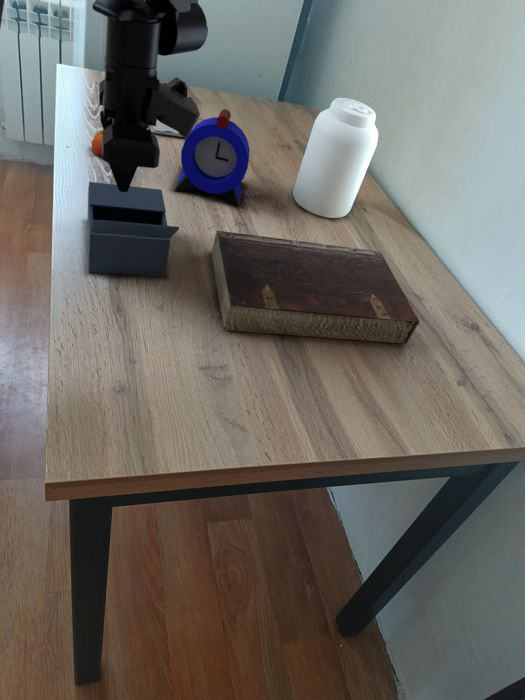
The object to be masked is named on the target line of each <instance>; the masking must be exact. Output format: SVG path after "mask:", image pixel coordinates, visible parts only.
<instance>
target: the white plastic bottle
mask: <svg viewBox="0 0 525 700" xmlns="http://www.w3.org/2000/svg"><path fill="white" fill-rule="evenodd" d="M376 114H377V113H376V112H375V110H374V109H373V108H371V107H370V106H369V105H367V104H365V103H363V102H361V101H359V100H357V99H356V100H355V99H352V98H348V97H337V98H334V99H333V100H332V102H331V103H330V105H329V107H328V108H326V109H324V110H323V111H321V112H319V113H318V114H317V117H316V118H315V119H314V123H313V126H312V129H311V132H310V135H309V139H308V142H307V145H306V148H305V151H304V155H303V158H302V161H301V164H300V167H299V170H298V174H297V176H296V179H295V183H294V187H293V190H292V196H293V199H294V201H295V202H296V203H297V204H298V206H300V207H301V208H302V209H304V210H306V211H307V212H308V213H311V214H314V215H316V216H320V217H321V218H322V217H323V218H329V219H340V218H342V217H345V216H347V214H349V213H350V212H351V210H352V207H353V205H354V202H355V200H356V197H357V195H358V193H359V191H360V188H361V185H362V183H363V180H364V179H365V178H364V177H365V176H366V172H367V171H368V168H369V166H370V163H371V160H372V158H373V155H374V153H375V151H376V148H377V146H378V139H379V131H378V128H377V127H376V124H375V122H376V117H377V116H376Z"/></svg>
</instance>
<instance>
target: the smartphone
mask: <svg viewBox="0 0 525 700" xmlns="http://www.w3.org/2000/svg"><path fill="white" fill-rule="evenodd" d="M149 127H150V130H151V132H152V133H153V134H158V135H159V134H160V135H165V136H172V137H180V138H185V136H182V135H180V134H179V132H178V131H176V130H174V129H172V128H170V127H169V126H167V125H165V124H163V123H161V122H160V121H158V120H157V121H156V126H151V125H149Z"/></svg>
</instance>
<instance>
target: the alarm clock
mask: <svg viewBox="0 0 525 700" xmlns="http://www.w3.org/2000/svg"><path fill="white" fill-rule="evenodd" d="M231 117H232V113H231V111H230V110H229V109H226V108H225V109H222V110H220V112H219V114H218V117H217V116H213V117H209V118H205V119H203V120H201V121H199V122H198V123H196V124H195V125H194V127H193V129H192V131H191V133H190V134H189V136H188V137H185V138H186V139H185V140H184V141H183V145H182V148H181V151H180V163H181V167H182V170H181V173H180V176H179V178H178V180H177V184H176V186H175V188H174V192H175V191H176V192H177V191H184V190H192V189H196V188H197V189H198V190H200V191H202V192H205V193H208V194H215V195H221V196H223V198H225V199H227V200H228V201H230V202H231V203H232V204H233V205H235V206H236V207H239V206H240V200H241V197H242V191H243V180H244V179H245V176H246V174H247V172H248V169H249V161H250V150H251V149H250V145H249V140H248V138H247V136H246V134H245V132H244V130H243V129H242V128H240V126H238V124H236V123H235V122H233V121H231Z"/></svg>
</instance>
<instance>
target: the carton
mask: <svg viewBox="0 0 525 700" xmlns="http://www.w3.org/2000/svg"><path fill="white" fill-rule="evenodd" d="M166 212H167V210H166V205H165V201H164V196H163V190H162V189H160V188H151V187H141V186H131V185H130V187H129V190H128V192H120V191H119V189H118V187H117V184H113V183H104V182H94V181H88V189H87V223H86V224H87V225H86V226H87V227H86V228H87V260H88V261H87V263H88V264H87V265H88V266H87V268H88V269H87V270H88V273H93V274H94V273H95V274H96V273H97V274H112V275H131V276H146V277H147V276H149V277H150V276H151V277H166V273H167V266H168V259H169V254H170V248H171V247H170V246H171V238H163V237H150V236H137V235H134V236H129V235H117V234H104V233H99V232H90V229H91V223H92V219H94V220H106V221H117V222H129V223H141V224H152V225H164V226H169V225H168V219H167V216H166Z"/></svg>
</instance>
